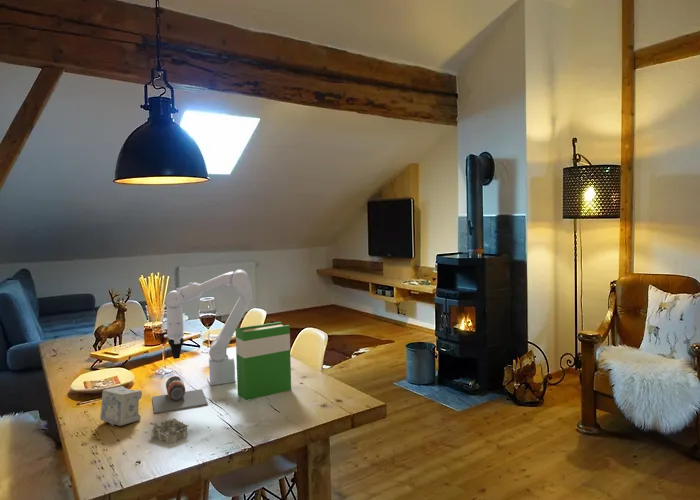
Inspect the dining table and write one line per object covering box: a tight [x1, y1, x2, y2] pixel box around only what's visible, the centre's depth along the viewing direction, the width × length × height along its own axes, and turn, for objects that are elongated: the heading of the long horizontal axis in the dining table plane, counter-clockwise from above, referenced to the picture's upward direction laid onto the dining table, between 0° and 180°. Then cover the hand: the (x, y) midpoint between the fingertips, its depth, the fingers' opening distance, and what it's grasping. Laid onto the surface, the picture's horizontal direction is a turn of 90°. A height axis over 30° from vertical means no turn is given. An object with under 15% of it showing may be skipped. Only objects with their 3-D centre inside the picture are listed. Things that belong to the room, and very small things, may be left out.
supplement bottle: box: [165, 375, 186, 400], centre depth 175 cm, size 6×6×11 cm
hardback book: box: [235, 321, 292, 402], centre depth 180 cm, size 18×7×24 cm, turn 124°
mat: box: [151, 388, 209, 415], centre depth 172 cm, size 17×15×1 cm
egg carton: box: [149, 417, 190, 444], centre depth 147 cm, size 11×8×4 cm
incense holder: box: [99, 385, 143, 427], centre depth 157 cm, size 10×8×10 cm
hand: (176, 358), depth 188 cm, fingers closed
